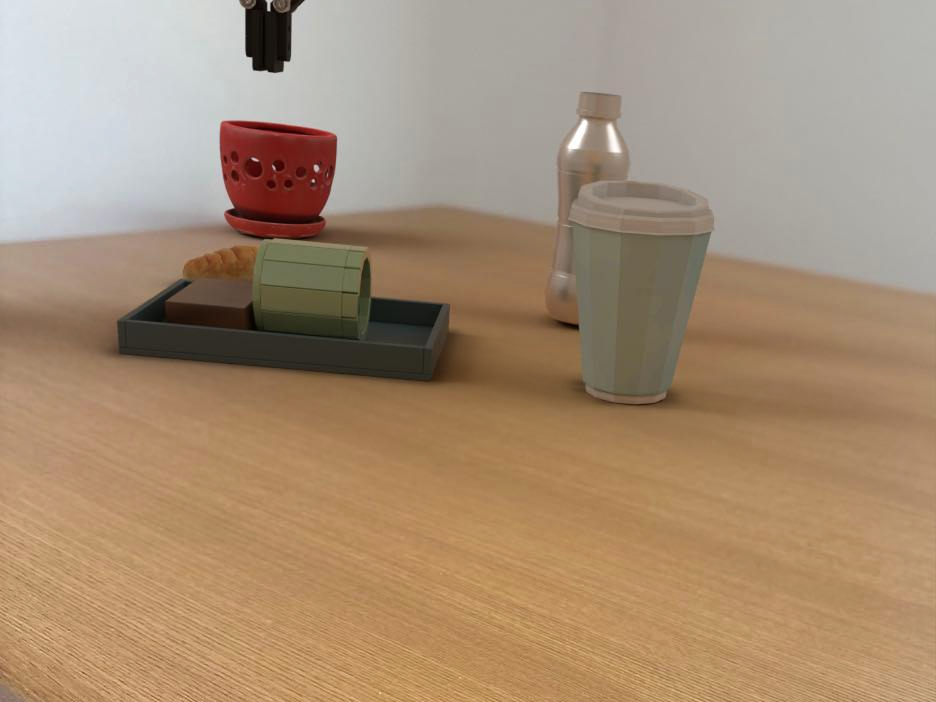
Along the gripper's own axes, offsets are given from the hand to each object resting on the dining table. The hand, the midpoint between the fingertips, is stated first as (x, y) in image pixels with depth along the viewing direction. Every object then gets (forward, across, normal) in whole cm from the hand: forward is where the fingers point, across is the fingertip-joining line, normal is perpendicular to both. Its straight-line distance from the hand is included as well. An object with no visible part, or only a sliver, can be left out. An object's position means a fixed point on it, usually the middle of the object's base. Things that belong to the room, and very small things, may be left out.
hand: (268, 70), depth 82 cm
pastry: (+20, +7, -18) cm, 28 cm away
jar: (+16, 0, 0) cm, 16 cm away
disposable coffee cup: (+20, -28, +6) cm, 35 cm away
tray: (+20, -2, 0) cm, 20 cm away
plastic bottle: (+20, -25, -15) cm, 36 cm away
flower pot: (+20, +10, -47) cm, 52 cm away
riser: (+20, +4, 0) cm, 21 cm away
